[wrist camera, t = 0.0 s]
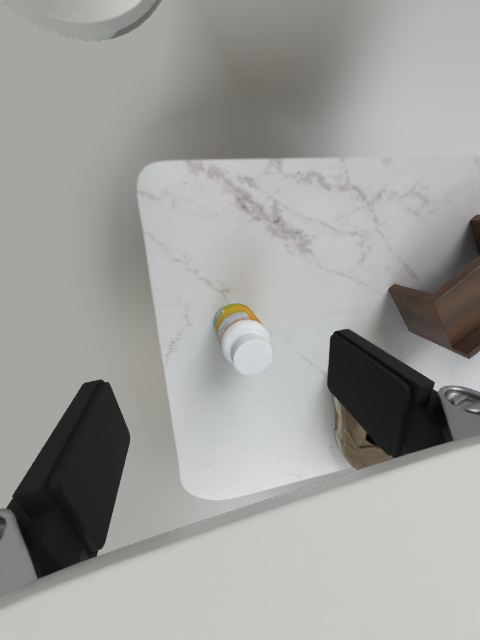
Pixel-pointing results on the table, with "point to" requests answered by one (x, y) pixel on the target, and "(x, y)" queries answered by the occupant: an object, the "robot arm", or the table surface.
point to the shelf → (447, 308)
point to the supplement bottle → (243, 339)
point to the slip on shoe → (356, 441)
